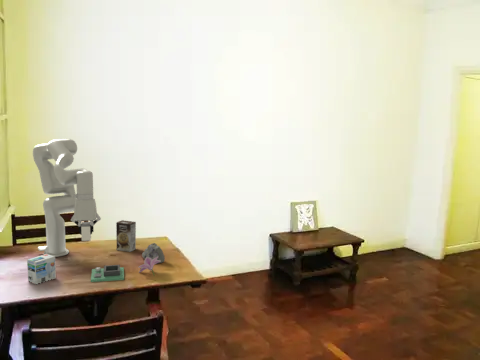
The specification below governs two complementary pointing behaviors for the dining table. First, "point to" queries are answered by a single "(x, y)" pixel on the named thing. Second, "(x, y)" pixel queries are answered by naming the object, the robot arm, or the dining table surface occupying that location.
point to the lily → (149, 264)
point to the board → (107, 273)
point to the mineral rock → (154, 252)
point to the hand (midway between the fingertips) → (86, 233)
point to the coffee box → (126, 235)
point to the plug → (85, 231)
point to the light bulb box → (41, 268)
